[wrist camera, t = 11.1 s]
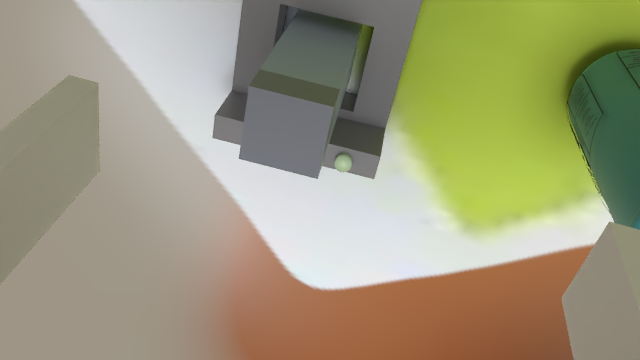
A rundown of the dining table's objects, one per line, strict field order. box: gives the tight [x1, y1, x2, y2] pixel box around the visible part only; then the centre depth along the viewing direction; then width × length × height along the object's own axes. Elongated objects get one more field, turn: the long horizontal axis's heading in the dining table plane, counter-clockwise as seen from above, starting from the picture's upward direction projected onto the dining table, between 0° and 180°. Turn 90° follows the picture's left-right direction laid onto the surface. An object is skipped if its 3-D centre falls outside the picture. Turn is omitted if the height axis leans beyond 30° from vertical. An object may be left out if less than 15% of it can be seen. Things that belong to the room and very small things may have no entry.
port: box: [213, 0, 422, 179], centre depth 36 cm, size 10×10×7 cm
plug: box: [239, 9, 362, 179], centre depth 34 cm, size 4×4×12 cm
